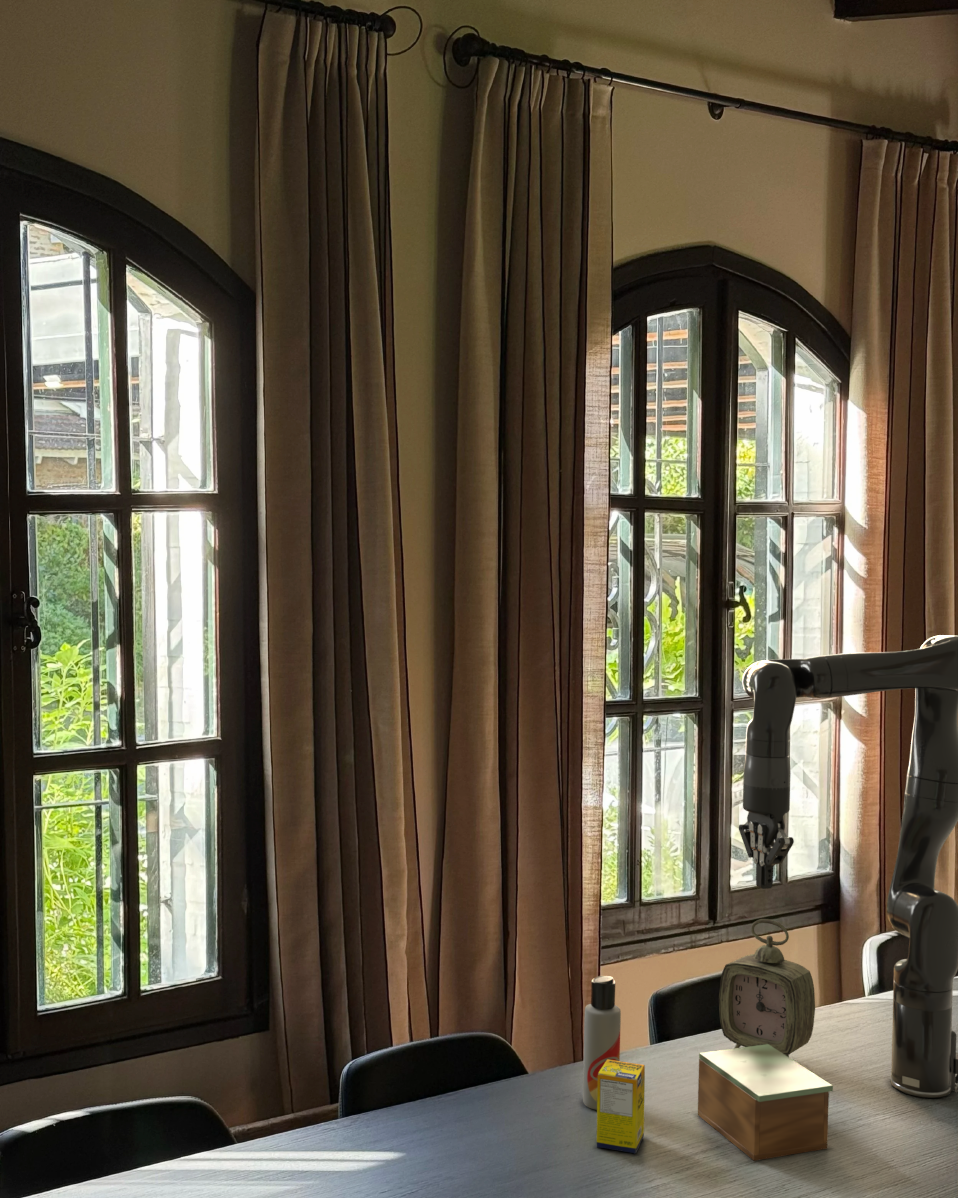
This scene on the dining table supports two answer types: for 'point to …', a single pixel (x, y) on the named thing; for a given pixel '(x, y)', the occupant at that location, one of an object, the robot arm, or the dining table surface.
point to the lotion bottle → (599, 1035)
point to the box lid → (765, 1072)
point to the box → (762, 1118)
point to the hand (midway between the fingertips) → (764, 887)
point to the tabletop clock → (767, 998)
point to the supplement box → (620, 1106)
